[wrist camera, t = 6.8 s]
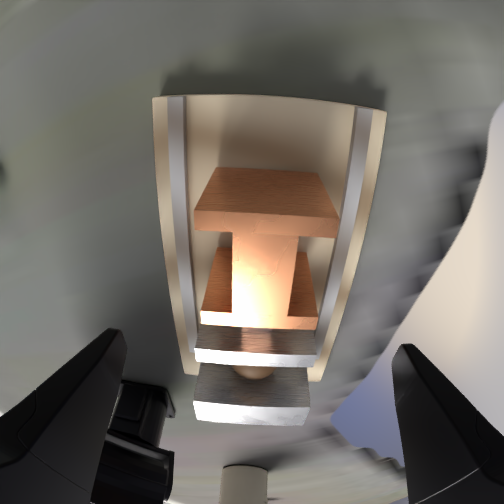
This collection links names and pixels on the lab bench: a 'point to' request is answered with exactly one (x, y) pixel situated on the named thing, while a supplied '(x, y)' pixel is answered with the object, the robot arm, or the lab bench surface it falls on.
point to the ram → (261, 266)
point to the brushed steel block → (251, 396)
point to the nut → (253, 371)
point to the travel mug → (243, 485)
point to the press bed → (262, 157)
